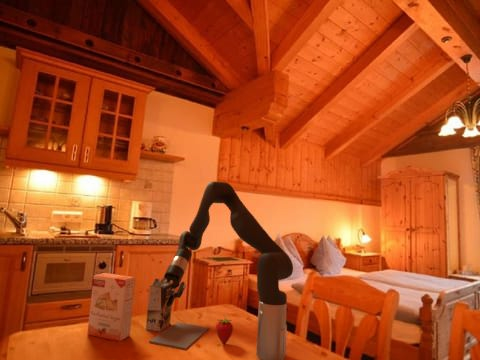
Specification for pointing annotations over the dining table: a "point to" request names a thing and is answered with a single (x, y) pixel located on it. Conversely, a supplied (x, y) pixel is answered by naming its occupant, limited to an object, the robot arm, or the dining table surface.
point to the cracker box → (111, 306)
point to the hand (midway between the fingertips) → (160, 304)
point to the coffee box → (159, 306)
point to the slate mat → (180, 335)
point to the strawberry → (224, 330)
